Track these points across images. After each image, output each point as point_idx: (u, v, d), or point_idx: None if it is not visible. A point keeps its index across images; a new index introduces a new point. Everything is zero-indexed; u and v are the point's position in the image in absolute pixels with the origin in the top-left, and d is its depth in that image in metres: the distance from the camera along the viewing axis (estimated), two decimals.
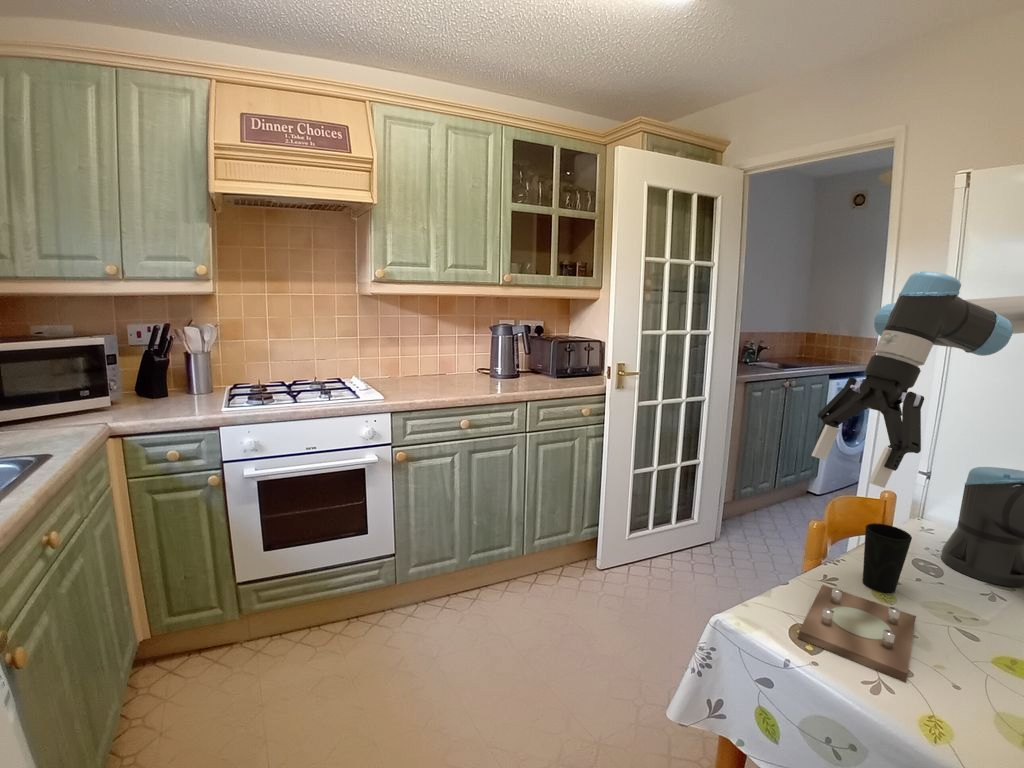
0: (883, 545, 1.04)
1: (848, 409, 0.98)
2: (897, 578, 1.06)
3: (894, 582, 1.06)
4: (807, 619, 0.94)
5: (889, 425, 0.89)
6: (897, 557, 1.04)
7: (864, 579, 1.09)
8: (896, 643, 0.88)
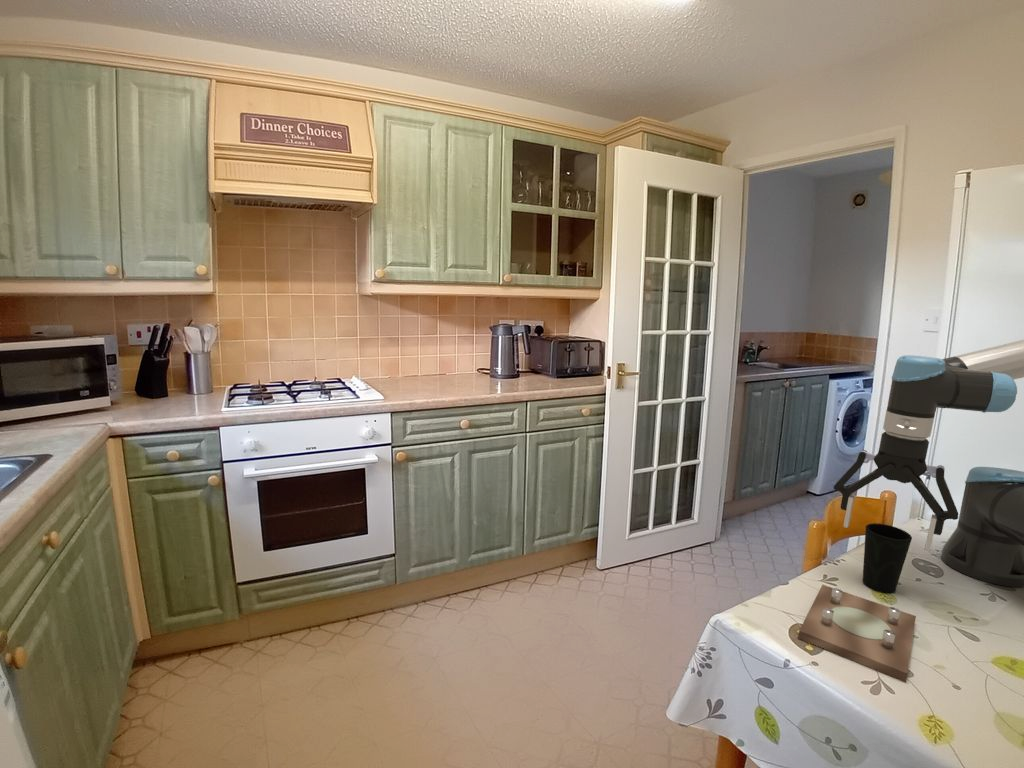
0: (883, 545, 1.04)
1: None
2: (897, 578, 1.06)
3: (894, 582, 1.06)
4: (807, 619, 0.94)
5: (927, 498, 1.01)
6: (897, 557, 1.04)
7: (864, 579, 1.09)
8: (896, 643, 0.88)
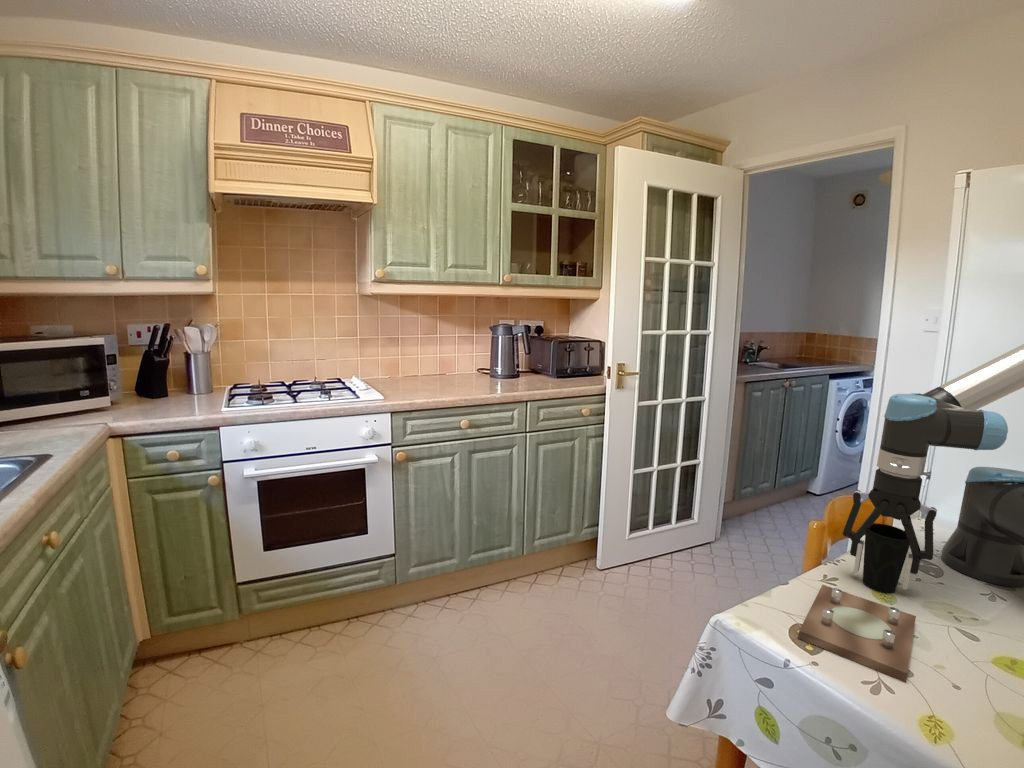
0: (883, 545, 1.04)
1: None
2: (897, 578, 1.06)
3: (894, 582, 1.06)
4: (807, 619, 0.94)
5: (910, 537, 1.03)
6: (897, 557, 1.04)
7: (864, 579, 1.09)
8: (896, 643, 0.88)
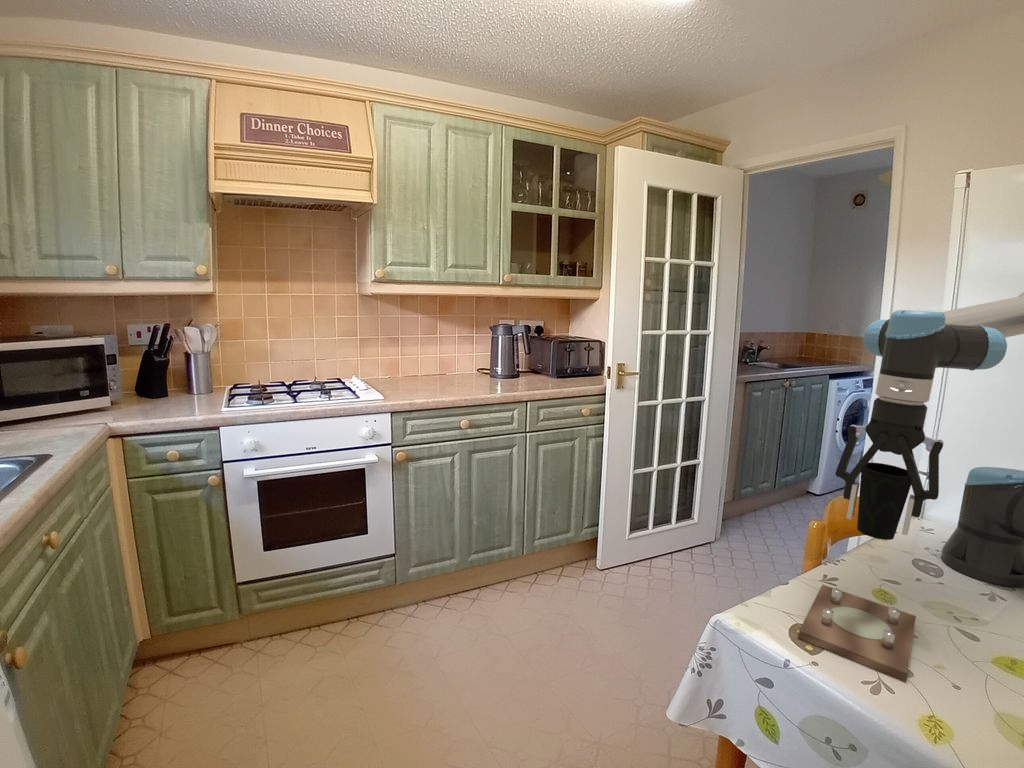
0: (881, 483, 0.91)
1: None
2: (896, 522, 0.92)
3: (893, 526, 0.92)
4: (807, 619, 0.94)
5: (912, 474, 0.90)
6: (897, 497, 0.91)
7: (859, 525, 0.96)
8: (896, 643, 0.88)
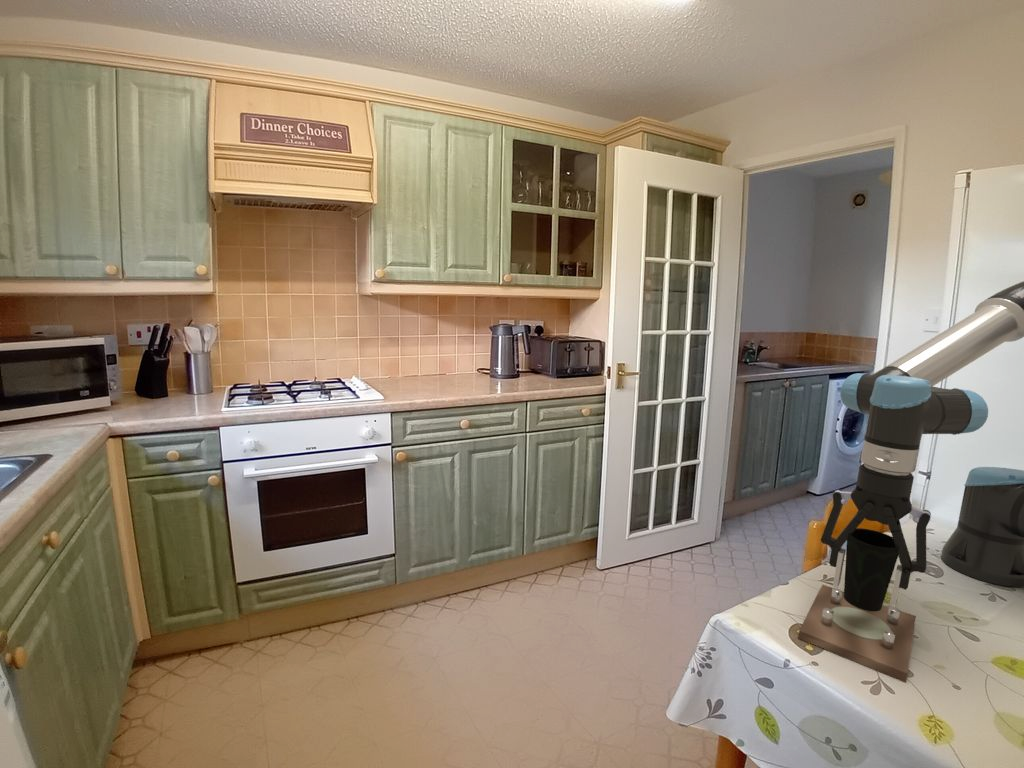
0: (867, 554, 0.88)
1: None
2: (884, 593, 0.89)
3: (880, 598, 0.89)
4: (807, 619, 0.94)
5: (899, 546, 0.87)
6: (884, 569, 0.88)
7: (845, 594, 0.93)
8: (896, 643, 0.88)
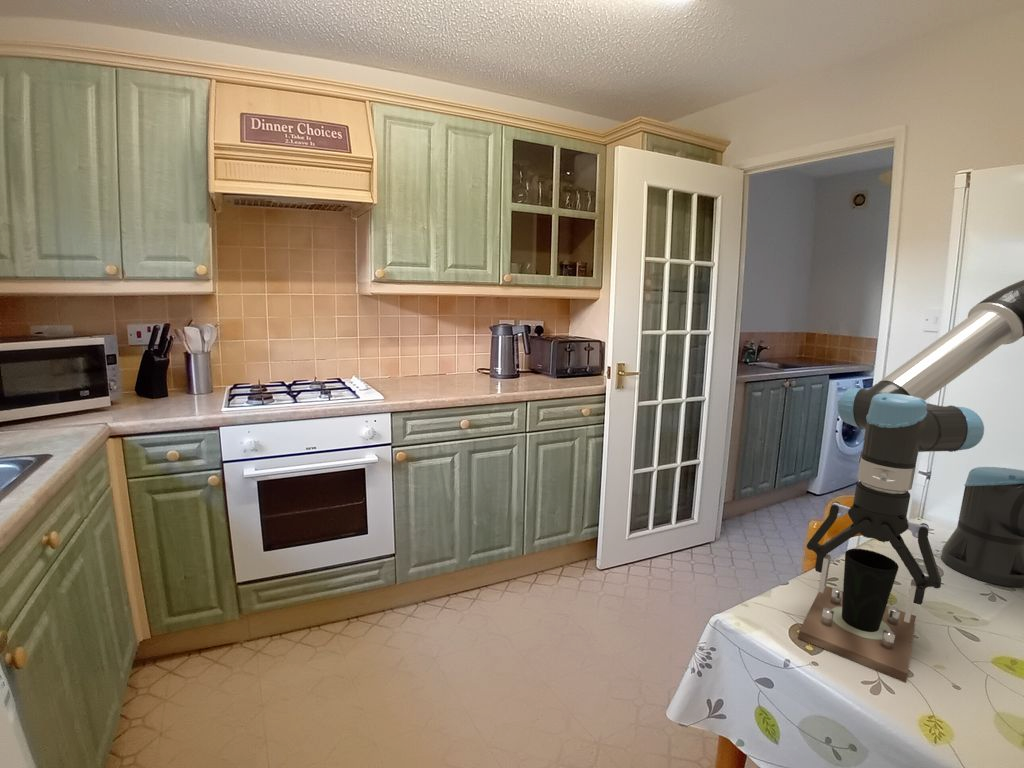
0: (865, 575, 0.89)
1: (846, 540, 0.92)
2: (881, 614, 0.90)
3: (877, 619, 0.90)
4: (807, 619, 0.94)
5: (907, 561, 0.87)
6: (881, 590, 0.88)
7: (843, 614, 0.93)
8: (896, 643, 0.88)
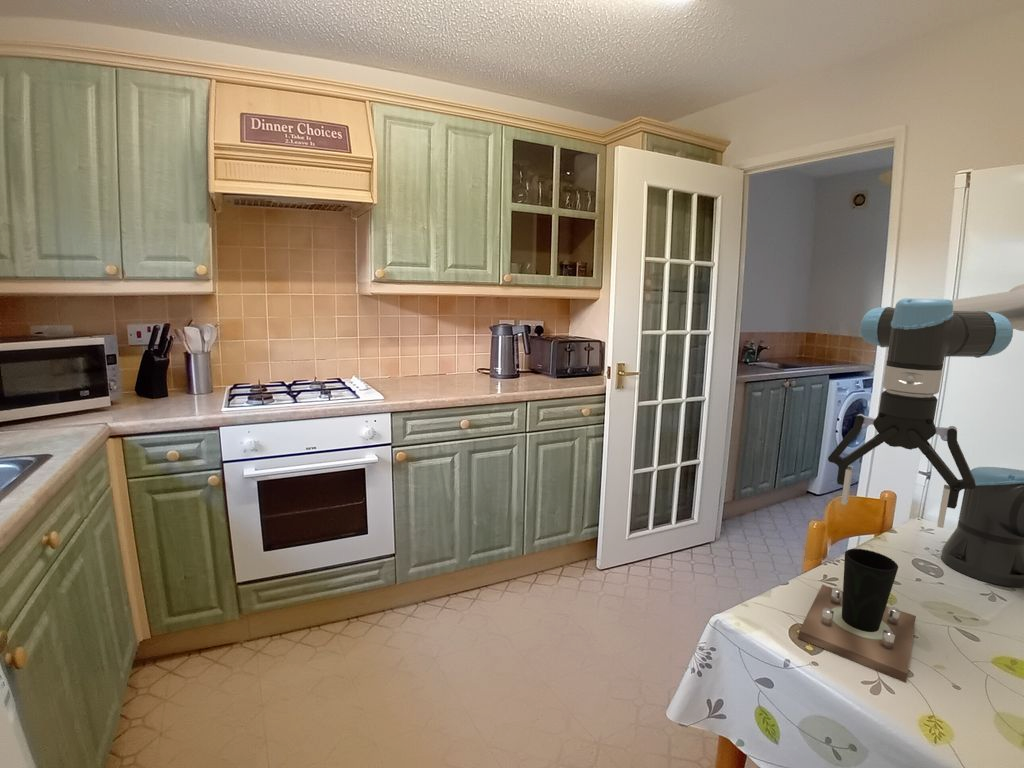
0: (864, 576, 0.89)
1: (870, 450, 0.91)
2: (881, 614, 0.90)
3: (877, 619, 0.90)
4: (807, 619, 0.94)
5: (938, 466, 0.85)
6: (881, 590, 0.88)
7: (843, 614, 0.93)
8: (896, 643, 0.88)
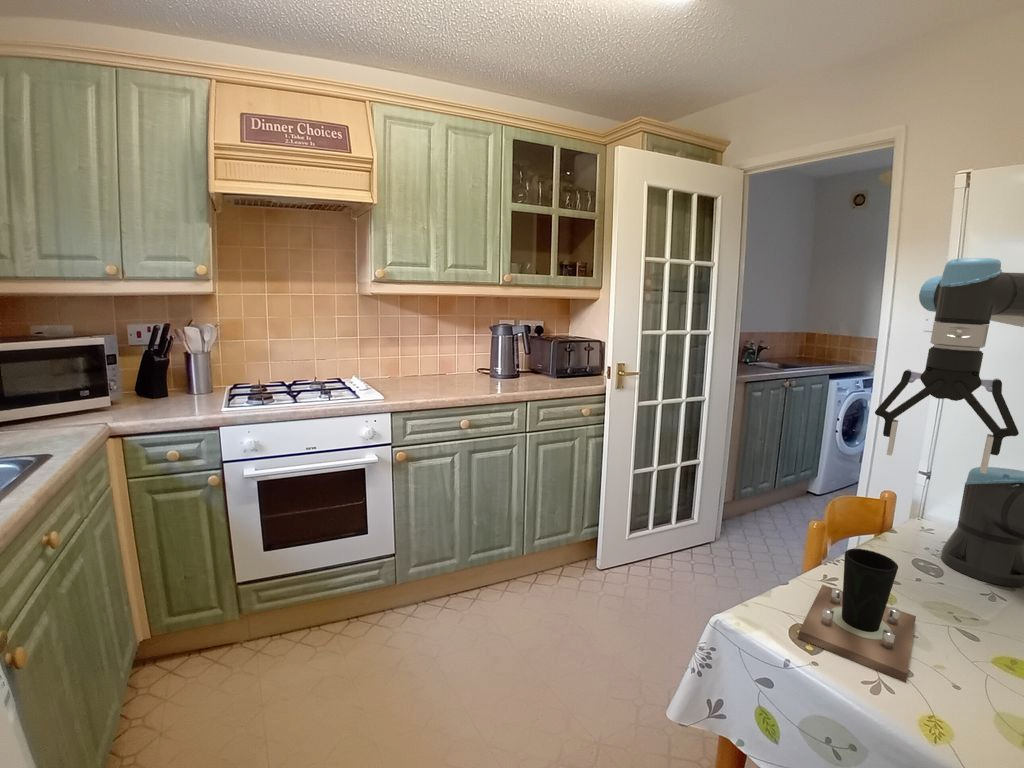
0: (864, 576, 0.89)
1: None
2: (881, 614, 0.90)
3: (877, 619, 0.90)
4: (807, 619, 0.94)
5: (983, 415, 0.92)
6: (881, 590, 0.88)
7: (843, 614, 0.93)
8: (896, 643, 0.88)
